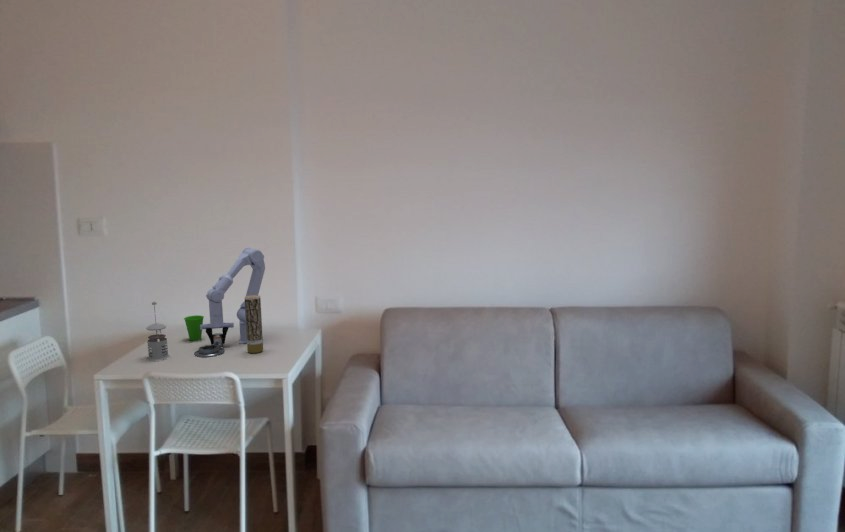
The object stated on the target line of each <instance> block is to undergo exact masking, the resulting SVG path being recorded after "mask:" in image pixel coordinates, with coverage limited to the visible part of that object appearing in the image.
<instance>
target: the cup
mask: <svg viewBox="0 0 845 532" xmlns="http://www.w3.org/2000/svg"><path fill="white" fill-rule="evenodd" d="M204 318H205V316H204V315H196V314H195V315H188V316H186V317H184V318H183V320H184V322H185V325H186V330H187V333H188V334H187V335H188V338H189V341H190V340H191V342H198V340H199V341H201V340H202V334H203V330H200V325H204V323H203V322H204ZM200 339H201V340H200Z"/></svg>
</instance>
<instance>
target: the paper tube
mask: <svg viewBox="0 0 845 532" xmlns="http://www.w3.org/2000/svg"><path fill="white" fill-rule="evenodd" d="M261 299H262V298H261V295H259V294H258V295H251V296H246V295H245V296H244V301H245V315H246V333H247V343H246V345H247V352H248V353H249V354H259V353H262V352H263V351H264V343H263V341H264V339H263V338H264V337H263V323H262V322H263V321H262V320H263V319H262V301H261Z"/></svg>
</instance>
